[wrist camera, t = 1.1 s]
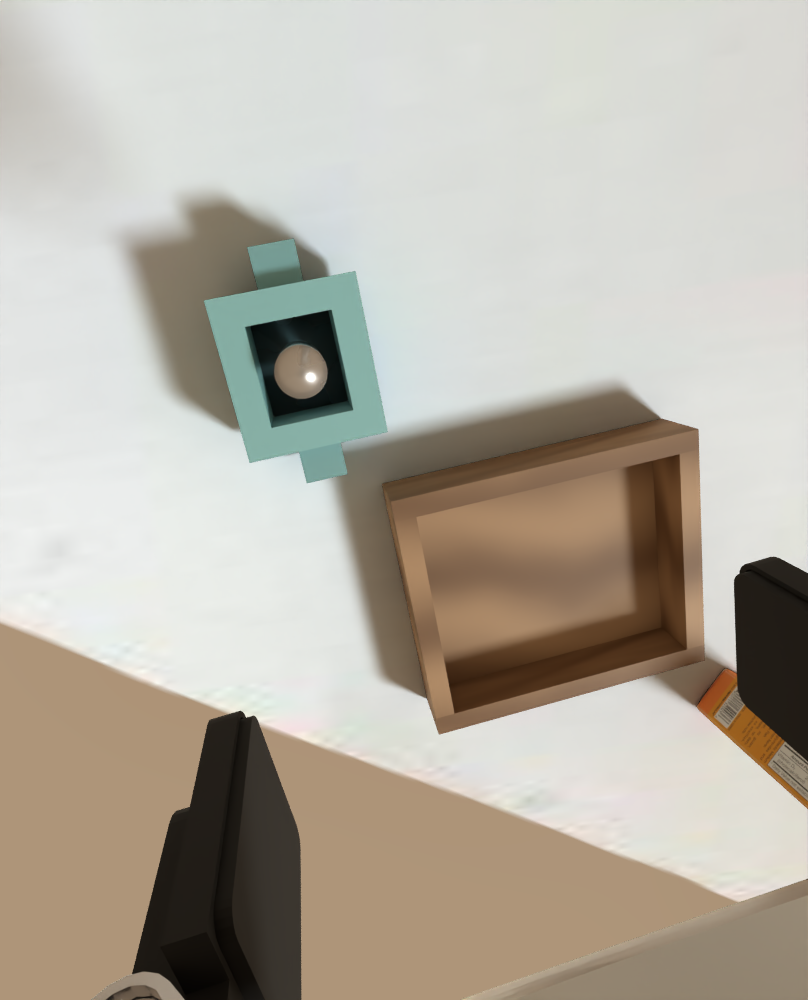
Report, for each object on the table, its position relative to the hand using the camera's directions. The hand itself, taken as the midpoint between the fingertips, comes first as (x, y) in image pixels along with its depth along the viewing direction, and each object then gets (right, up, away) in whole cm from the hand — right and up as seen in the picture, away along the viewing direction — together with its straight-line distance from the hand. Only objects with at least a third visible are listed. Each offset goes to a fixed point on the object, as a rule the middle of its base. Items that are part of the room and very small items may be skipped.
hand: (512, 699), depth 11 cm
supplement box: (+18, -8, +27) cm, 33 cm away
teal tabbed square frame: (-7, +10, +15) cm, 19 cm away
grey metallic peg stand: (-7, +10, +16) cm, 20 cm away
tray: (+5, 0, +21) cm, 22 cm away
